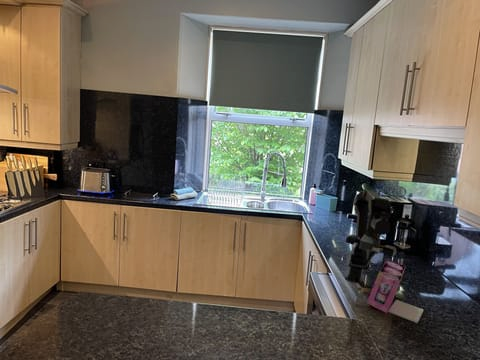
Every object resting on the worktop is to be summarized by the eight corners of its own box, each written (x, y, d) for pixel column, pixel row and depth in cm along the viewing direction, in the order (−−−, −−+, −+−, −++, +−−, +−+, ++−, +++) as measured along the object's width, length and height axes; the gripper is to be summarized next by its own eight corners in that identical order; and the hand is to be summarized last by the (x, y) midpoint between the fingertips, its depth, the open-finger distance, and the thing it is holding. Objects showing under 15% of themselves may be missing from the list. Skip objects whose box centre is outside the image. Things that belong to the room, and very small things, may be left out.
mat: (396, 301, 146) (396, 299, 146) (423, 311, 141) (423, 309, 141) (388, 311, 135) (388, 310, 134) (417, 323, 129) (417, 321, 129)
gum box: (387, 315, 131) (400, 281, 129) (365, 304, 135) (378, 271, 133) (394, 295, 152) (406, 266, 150) (375, 286, 156) (386, 257, 153)
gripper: (345, 224, 144) (337, 261, 146) (394, 238, 134) (385, 278, 136) (353, 221, 154) (346, 256, 156) (400, 234, 143) (391, 271, 145)
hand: (366, 265), depth 148 cm, fingers closed
